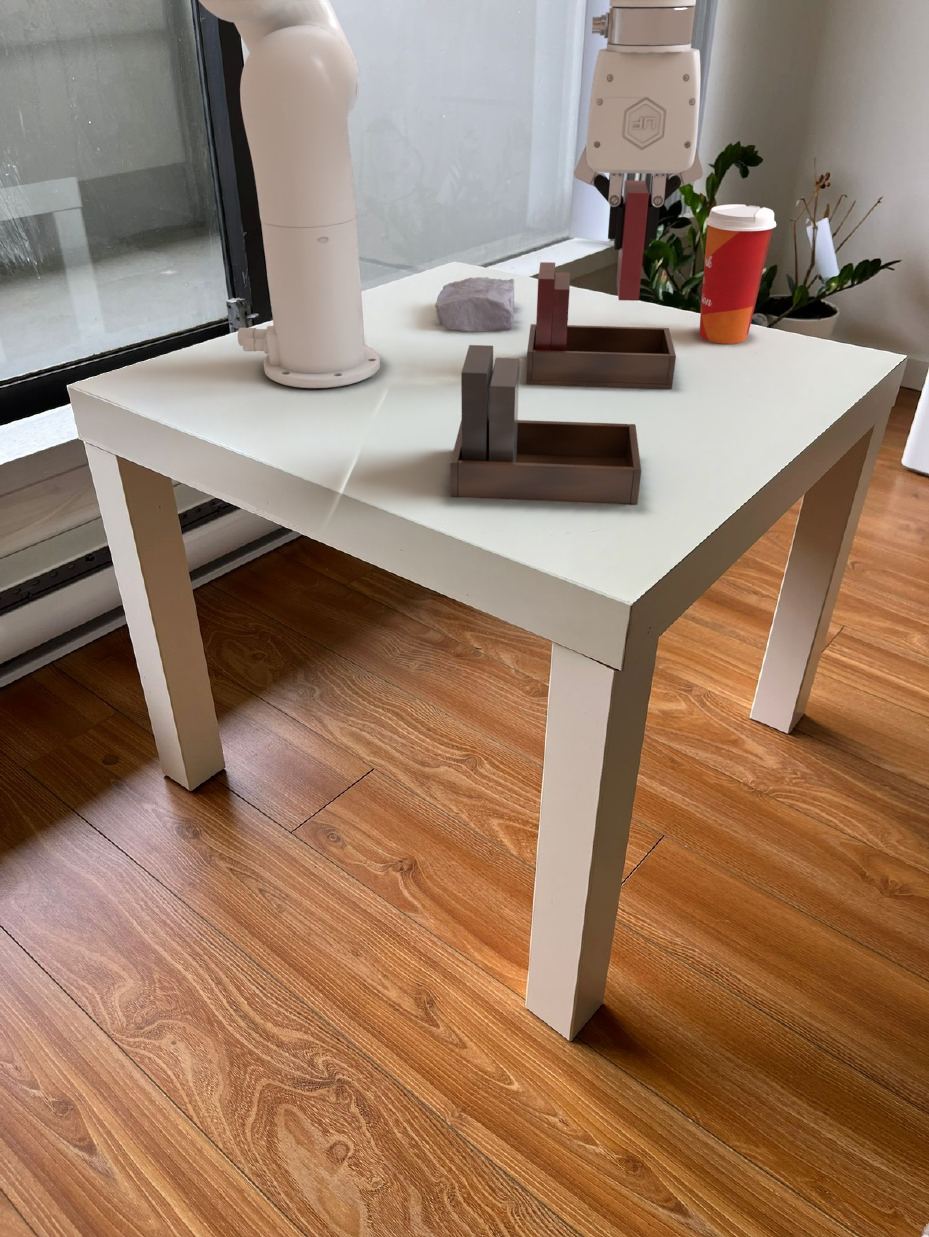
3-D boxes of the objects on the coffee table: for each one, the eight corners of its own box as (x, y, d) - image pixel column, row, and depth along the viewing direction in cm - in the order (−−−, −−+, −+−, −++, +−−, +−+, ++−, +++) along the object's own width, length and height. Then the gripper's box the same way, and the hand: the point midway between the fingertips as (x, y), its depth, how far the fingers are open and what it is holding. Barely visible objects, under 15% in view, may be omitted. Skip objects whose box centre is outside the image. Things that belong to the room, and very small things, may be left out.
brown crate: (450, 501, 77) (448, 378, 71) (461, 454, 85) (461, 339, 79) (637, 509, 76) (651, 385, 70) (631, 460, 83) (644, 344, 77)
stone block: (439, 346, 114) (520, 329, 113) (430, 306, 111) (513, 289, 110) (444, 319, 124) (518, 304, 123) (436, 282, 121) (512, 266, 120)
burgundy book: (618, 300, 94) (627, 193, 88) (616, 282, 99) (624, 180, 94) (638, 300, 94) (648, 193, 88) (635, 283, 99) (644, 180, 94)
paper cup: (708, 322, 116) (726, 200, 108) (767, 334, 112) (790, 209, 104) (677, 338, 111) (693, 212, 103) (737, 352, 107) (759, 221, 99)
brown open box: (525, 384, 99) (529, 282, 93) (529, 354, 106) (533, 258, 100) (671, 389, 97) (685, 286, 91) (665, 358, 105) (676, 261, 99)
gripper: (559, 34, 81) (551, 255, 92) (746, 33, 80) (716, 257, 90) (561, 30, 87) (552, 237, 98) (734, 28, 86) (707, 239, 97)
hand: (631, 245), depth 94 cm, fingers closed on burgundy book, 2 cm apart
